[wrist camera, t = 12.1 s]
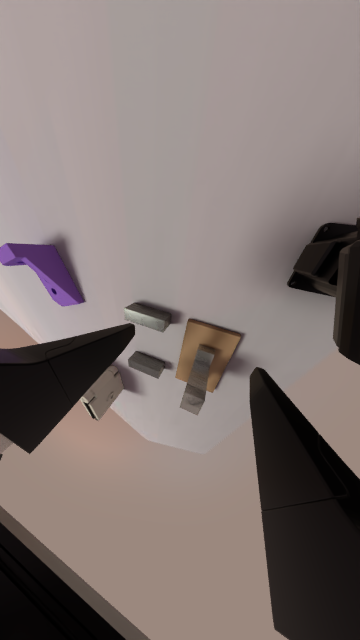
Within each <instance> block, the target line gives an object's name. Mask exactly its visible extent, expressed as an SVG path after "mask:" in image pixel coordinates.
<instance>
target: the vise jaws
mask: <svg viewBox="0 0 360 640" xmlns="http://www.w3.org/2000/svg"><path fill="white" fill-rule="evenodd" d="M124 313H125V320H128V321H131V322H134V323H137V324H140V325H143V326H146V327H149V328H152V329H155V330H158V331H161V332H164V331H165V330H166V328H167V327H168V326H169V325H170V319H171V314H170V313H167V312H164V311H160V310H157V309H154V308H150V307H147V306H144V305H140V304H137V303H133V304H131V305H129V306H127V307H125V308H124ZM128 363H129V367H132V368H134V369H136V370H139V371H141V372H143V373H146V374H148V375H151V376H153V377H155V378H159V377H160V375H161V373H162V371H163V369H164V364H165V362H163V361H160V360H157V359H155V358H152V357H150V356H147V355H145V354H142V353H139V352H137V351H136V352H135V353H134V354H133V355H132V356H131V357H130V358H129V359H128Z"/></svg>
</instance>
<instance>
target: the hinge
mask: <svg viewBox="0 0 360 640" xmlns="http://www.w3.org/2000/svg"><path fill="white" fill-rule="evenodd" d="M117 372H118V370H117V368H116V367H115V366H109V367H108V368H107V370H106V371H105V372H104V373H103V374H102V375H101V376H100V377H99V378H98V379H97V381H96V382H95V383H94V384H93V385H92V386H91V387H90V388H89V389H88V391H87V392H86V393H85V394H84V395H83V396H82V397H81V398H80V399H81V402H82V403H83V405H84V407H85V408H86V410H87V412H88V413H89V415H90V416H92V418H93V419H94V418H95V419H96V420H100V419H101V417H102V416H103V415H104V413H105V412H106V411H107V409H108V408H109V407H110V406H111V404H112V403H113V402H114V400H115V399H116V398H117V397H118V395H119V394H120V393H121V391H122V390H123V389H124V387H123V383H122V380H121V376H120V373H117Z"/></svg>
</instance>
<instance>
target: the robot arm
mask: <svg viewBox="0 0 360 640" xmlns="http://www.w3.org/2000/svg"><path fill="white" fill-rule="evenodd" d="M325 227H328V229H327V231H326V232H324V231H323V230H324V228H325ZM293 269H294V272H293V274H292V276H291V277H290V279H289V281H288V283H287V285H288V286H289V287H291V288H295V289H300V290H304V291H309V292H314V293H319V294H323V295H328V296H333V297H336V305H335V318H334V331H333V339H334V341H335V343H336V345H337V346H338V347H339V349H338V350H339V352H340V353H341V354H342V355H344V356H345V357H346V358H348V359H350V360H351V361H353V362H355V363H357V364H359V365H360V218H357V223H356V226H354V225H345V224H336V223H327V224H324V225H322V226H321V227H320V228H319V229H318V231H317V233H316V234H315V236H314V238H313V240H312V241H311V243H310V244H308V245H307V246H306V247H305V249H304V251H303V252H302V254H301V256H300V258H299V259H298V261H297V263H296V265H295V266H294V268H293ZM292 282H295V283H294V284H293V285H291V283H292ZM134 335H135V325H134V324H131V323H128V324H124V325H120V326H116V327H112V328H108V329H104V330H99V331H95V332H91V333H87V334H83V335H79V336H75V337H71V338H66V339H62V340H57V341H52V342H47V343H42V344H37V345H32V346H27V347H21V348H14V349H0V460H1V457H2V454H1V453H2V452H3V451H4V450H6V449H7V448H8V447H9V446H10V445H11V444H12V443H15V444H16V445H17V446H19V447H20V448H22V449H23V450H25V451H26V452H28V453H29V454H30V453H31V452H32V451H33V450H34V449H35V448H36V447H37V446H38V445H39V444H40V443H41V442H42V440H43V439H44V438H45V437H46V436H47V435H48V434H49V433H50V432H51V430H52V429H53V428H54V427H55V426H56V425H57V424H58V423H59V422H60V421H61V419H62V418H63V417H64V416H65V415H66V414H67V413H68V412H69V411H70V410H71V408H72V407H73V406H74V405H75V404H76V403H77V402H78V400H79V399H80V398H81V397H82V396H83V395H84V394H85V393H86V392H87V391H88V389H89V388H90V387H91V386H92V385H93V384H94V383H95V382H96V381H97V379H98V378H99V377H100V376H101V375H102V374H103V373H104V372H105V371H106V370H107V368H108V367H109V366H110V365H111V364H112V363H113V362H114V361H115V360H116V358H117V357H118V356H119V355H120V354H121V353H122V352H123V350H124V349H125V348H126V346H127V345H128V344H129V342H130V341H131V340H132V338H133V337H134ZM250 409H251V419H252V428H253V436H254V446H255V456H256V465H257V474H258V484H259V493H260V502H261V510H262V512H261V513H262V522H263V531H264V541H265V550H266V559H267V569H268V578H269V587H270V596H271V606H272V614H273V622H274V628H275V630H276V631H278V632H279V633H280V634H282V635H283V636H284V637H286V638H287V639H289V640H360V479H359V478H358V477H357V476H356V475H355V474H354V473H353V471H352V470H351V469H350V468H349V467H348V466H347V465H346V464H345V463H344V462H343V461H342V459H341V458H340V457H339V456H338V455H337V454H336V452H335V451H334V450H333V449H332V448H331V447H330V446H329V445H328V443H327V442H326V441H325V440H324V439H323V437H322V436H321V435H319V433H318V432H317V431H316V429H315V428H314V427H313V426H312V425H311V423H310V422H309V421H308V420H307V419H306V418H305V416H304V415H303V414H302V413H301V412H300V411H299V409H298V408H297V407H296V406H295V405H294V404H293V403H292V401H291V400H290V399H289V398H288V397H287V396H286V394H285V393H284V392H283V391H282V390H281V388H280V387H279V386H278V385H277V384H276V383H275V381H274V380H273V379H272V378H271V377H270V376H269V374H268V373H267V372H266V371H265V370H264V369H262V368H259V367H256V368H255V369H254V371H253V372H252V374H251V375H250ZM0 640H150V639H149V638H148V637H147V636H146V635H144V634H143V633H142V632H141V631H140V630H139V629H138V628H137V627H135V626H134V625H133V624H132V623H131V622H130V621H129V620H128V619H127V618H125V617H124V616H123V615H122V614H121V613H120V612H119V611H118V610H116V609H115V608H114V607H113V606H112V605H111V604H110V603H108V601H106V600H105V599H104V598H103V597H102V596H101V595H100V594H98V593H97V592H96V591H95V590H94V589H93V588H92V587H91V586H89V585H88V584H87V583H86V582H85V581H84V580H83V579H82V578H81V577H79V576H78V575H77V574H76V573H75V572H74V571H73V570H72V569H71V568H69V567H68V566H67V565H66V564H65V563H64V562H63V561H62V560H60V559H59V558H58V557H57V556H56V555H55V554H54V553H53V552H51V551H50V550H49V549H48V548H47V547H46V546H44V544H42V543H41V542H40V541H39V540H38V539H37V538H36V537H34V535H32V534H31V533H30V532H29V531H28V530H27V529H26V528H24V527H23V526H22V525H21V524H20V523H19V522H18V521H17V520H16V519H14V518H13V517H12V516H11V515H10V514H9V513H7V511H5V510H4V509H3V508H2V507H1V506H0Z"/></svg>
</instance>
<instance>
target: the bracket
mask: <svg viewBox="0 0 360 640" xmlns="http://www.w3.org/2000/svg"><path fill="white" fill-rule="evenodd" d="M0 262H1V263H2V265H5V266H14V265H28V266H29V267H30V268H31V269H33V270H34V271H35V272H36V273H37V275H38V277H39V278H40V280H41V281H42V283H43V284H44V286H45V288H46V289H47V291H48V292H49V294H50V296H51V297H52V299H53V300H54V301H55V302H57V303H58V304H59V305H61V306H69V305H75V304H80V303H83V302H84V301H83V299H82V297H81V295H80V293H79V291H78V290H77V288H76V286H75V284H74V282H73V280H72V278H71V277H70V275H69V273H68V271H67V269H66V267H65V265H64V263H63V262H62V260H61V258H60V256H59V254H58V252H57V250H56V249H55V247H54V245H34V244H12V243H6V244H4V245H3V246H2V247H0Z"/></svg>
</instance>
